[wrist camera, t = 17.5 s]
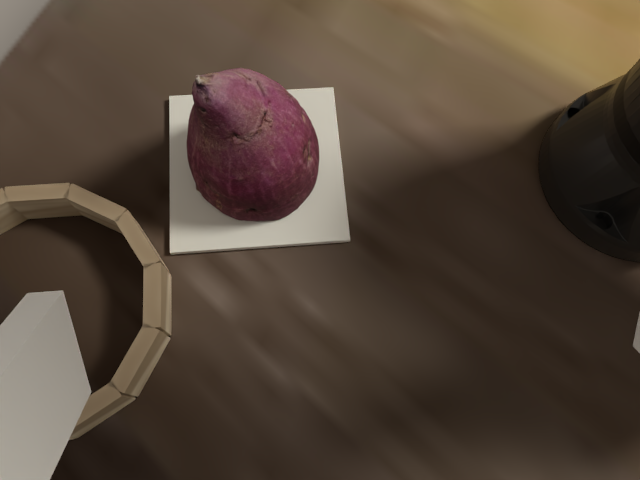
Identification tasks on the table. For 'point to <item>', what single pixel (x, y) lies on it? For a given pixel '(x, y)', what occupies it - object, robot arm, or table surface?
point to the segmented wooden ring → (71, 200)
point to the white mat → (230, 234)
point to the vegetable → (250, 146)
